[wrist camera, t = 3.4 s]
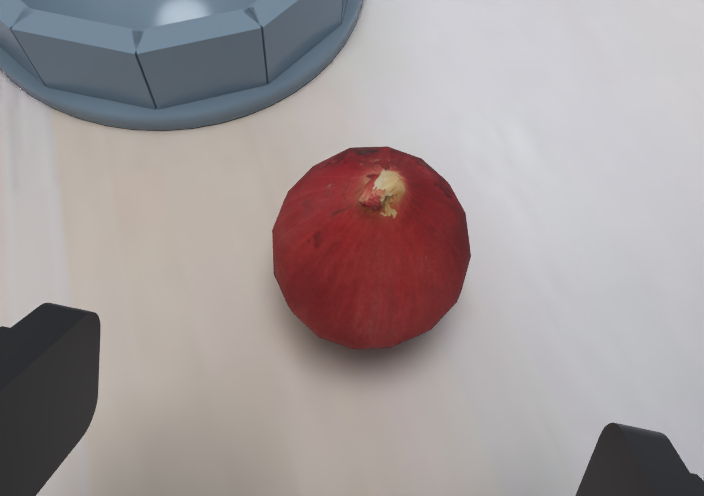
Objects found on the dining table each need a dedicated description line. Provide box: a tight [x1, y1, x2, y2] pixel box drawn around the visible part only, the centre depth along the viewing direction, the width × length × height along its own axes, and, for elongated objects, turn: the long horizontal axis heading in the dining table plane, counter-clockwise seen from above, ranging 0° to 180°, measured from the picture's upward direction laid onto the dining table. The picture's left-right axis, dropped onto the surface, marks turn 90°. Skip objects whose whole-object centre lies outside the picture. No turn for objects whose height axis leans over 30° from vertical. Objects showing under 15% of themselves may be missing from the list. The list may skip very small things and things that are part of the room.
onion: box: [272, 147, 471, 349], centre depth 18 cm, size 6×6×8 cm
